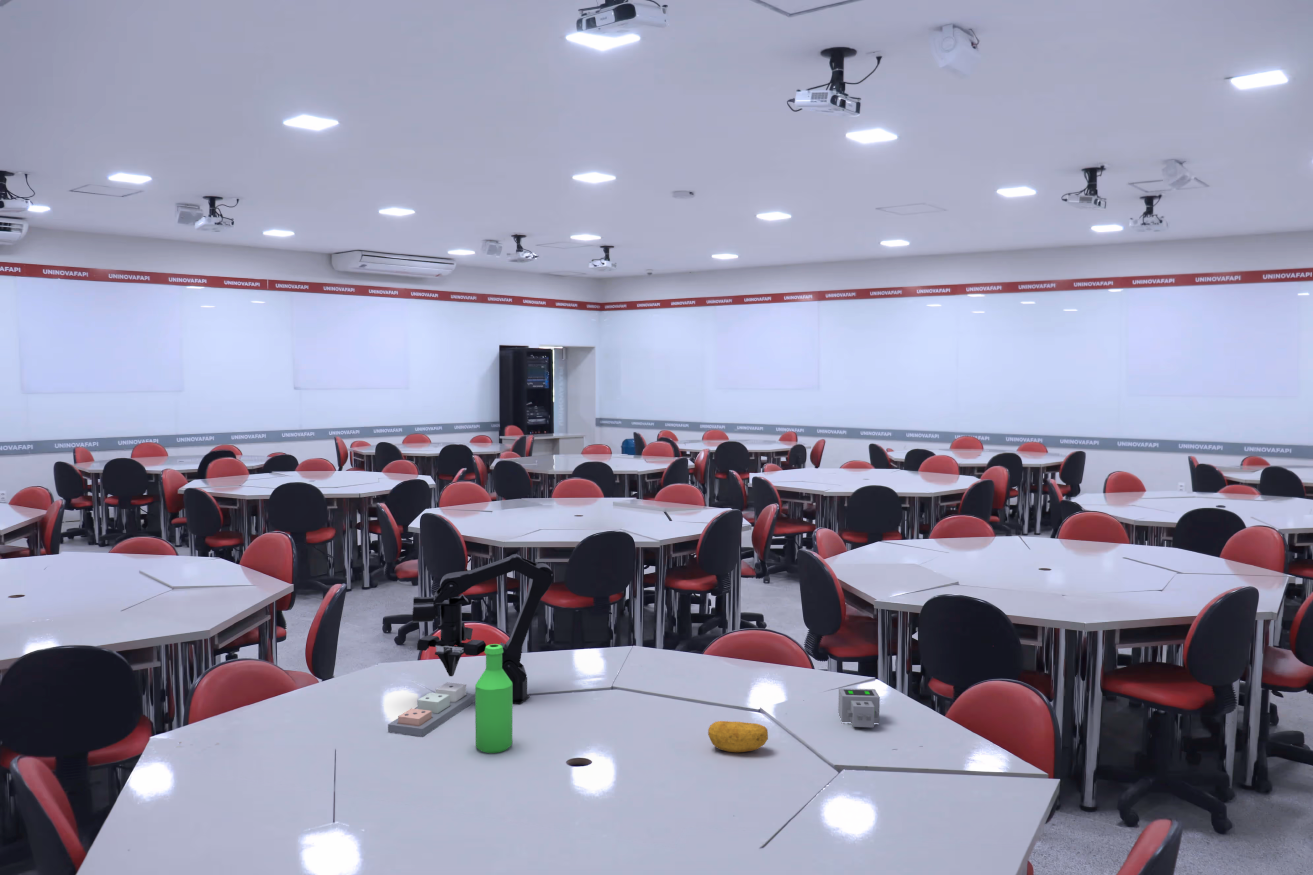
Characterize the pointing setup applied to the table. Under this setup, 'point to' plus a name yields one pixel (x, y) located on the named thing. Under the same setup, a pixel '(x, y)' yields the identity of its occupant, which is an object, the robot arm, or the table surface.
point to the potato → (737, 736)
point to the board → (435, 720)
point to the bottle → (493, 704)
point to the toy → (859, 706)
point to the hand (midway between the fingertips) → (451, 675)
